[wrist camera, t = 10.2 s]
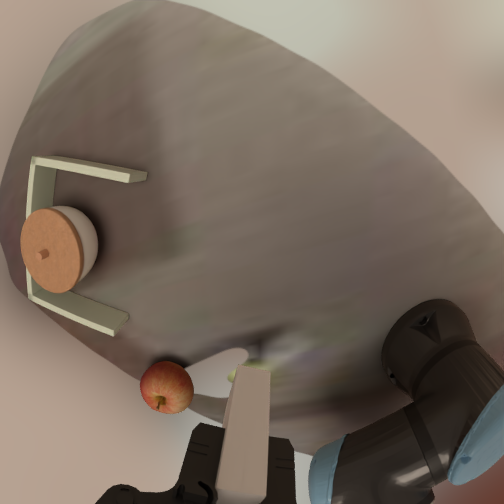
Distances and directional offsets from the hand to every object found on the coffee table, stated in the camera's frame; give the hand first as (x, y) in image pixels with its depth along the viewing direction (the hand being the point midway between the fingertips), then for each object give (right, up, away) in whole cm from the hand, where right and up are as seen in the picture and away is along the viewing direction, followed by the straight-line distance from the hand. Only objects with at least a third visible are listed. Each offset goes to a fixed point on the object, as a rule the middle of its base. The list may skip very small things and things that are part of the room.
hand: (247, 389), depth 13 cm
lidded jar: (-24, +9, +24) cm, 35 cm away
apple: (-12, -12, +30) cm, 34 cm away
